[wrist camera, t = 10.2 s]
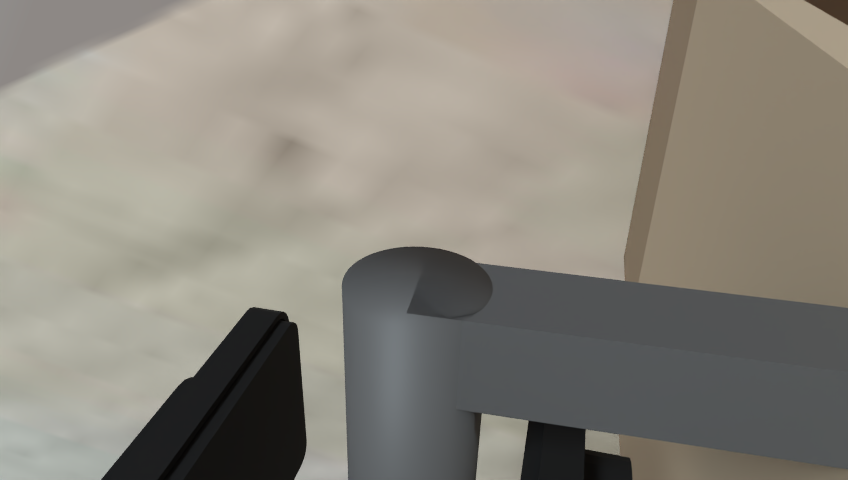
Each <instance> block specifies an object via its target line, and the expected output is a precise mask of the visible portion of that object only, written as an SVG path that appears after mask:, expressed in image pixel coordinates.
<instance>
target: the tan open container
mask: <svg viewBox="0 0 848 480" xmlns="http://www.w3.org/2000/svg"><path fill="white" fill-rule="evenodd" d="M805 1H806V2H808V3H810V4H812V5H813V6H815V7H817V8H818V9H820V10H822V11H824V12H825V13H827V14H829V15H830V16H832V17H834V18H836V19H837V20H839V21H841V22H843V23H844V24H846V25H848V0H805ZM696 4H697V0H674V1H673V6H672V11H671V16H670V21H669V27H668V32H667V37H666V42H665V47H664V52H663V58H662V63H661V68H660V73H659V78H658V84H657V89H656V94H655V99H654V104H653V110H652V115H651V120H650V125H649V130H648V135H647V141H646V146H645V151H644V156H643V161H642V167H641V172H640V177H639V182H638V187H637V193H636V198H635V203H634V208H633V213H632V219H631V224H630V229H629V234H628V239H627V244H626V250H625V255H624V268H625V281H629V282H637V283H638V282H639V277H640V273H641V268H642V263H643V258H644V253H645V249H646V244H647V239H648V234H649V229H650V225H651V220H652V215H653V210H654V205H655V201H656V196H657V191H658V186H659V181H660V177H661V172H662V167H663V162H664V157H665V153H666V148H667V143H668V138H669V133H670V129H671V124H672V119H673V114H674V109H675V105H676V100H677V95H678V90H679V85H680V81H681V76H682V71H683V66H684V61H685V57H686V52H687V47H688V42H689V37H690V33H691V28H692V23H693V18H694V13H695V9H696Z"/></svg>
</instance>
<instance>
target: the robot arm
mask: <svg viewBox="0 0 848 480" xmlns="http://www.w3.org/2000/svg"><path fill="white" fill-rule="evenodd" d="M585 430H586V429H581V428H575V427H568V426H562V425H555V424H549V423H542V422H536V421H529V423H528V430H527V437H526V444H525V452H524V459H523V466H522V473H521V480H632V464H631V460H630V458H629V457H624V456H618V455H613V454H607V453H602V452H596V451H591V450H585ZM305 452H306V428H305V415H304V402H303V389H302V376H301V363H300V350H299V337H298V328H297V325H296V323H294V322H289V319H288V316H287V314H286V313H284V312H281V311H274V310H268V309H262V308H256V307H253V308H250V309H249V310H248V311H247V312H246V313H245V314H244V315H243V316H242V318H241V319H240V320H239V321H238V323H237V324H236V325H235V326H234V328H233V329H232V330H231V331H230V333H229V334H228V335H227V336H226V338H225V339H224V340H223V341H222V342H221V344H220V345H219V346H218V347H217V349H216V350H215V351H214V352H213V354H212V355H211V356H210V357H209V359H208V360H207V361H206V362H205V364H204V365H203V366H202V367H201V368H200V370H199V371H198V372H197V373H196V375H195V376H194V377H191V378H188V379H186V380H184V381H183V382H182V383H181V384H180V385H179V386H178V387H177V388H176V389H175V391H174V392H173V393H172V394H171V395H170V397H169V398H168V399H167V400H166V402H165V403H164V404H163V405H162V406H161V408H160V409H159V410H158V411H157V412H156V414H155V415H154V416H153V417H152V419H151V420H150V421H149V422H148V423H147V425H146V426H145V427H144V428H143V429H142V431H141V432H140V433H139V434H138V436H137V437H136V438H135V439H134V440H133V442H132V443H131V444H130V445H129V446H128V448H127V449H126V450H125V451H124V453H123V454H122V455H121V456H120V457H119V459H118V460H117V461H116V462H115V463H114V465H113V466H112V467H111V468H110V470H109V471H108V472H107V473H106V474H105V476H104V477H103V478H102V479H101V480H294V478H295V477H296V475H297V473H298V471H299V469H300V467H301V465H302V462H303V459H304V456H305Z"/></svg>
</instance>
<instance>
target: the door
mask: <svg viewBox="0 0 848 480" xmlns="http://www.w3.org/2000/svg"><path fill="white" fill-rule="evenodd" d="M342 301H343V332H344V362H345V392H346V423H347V453H348V480H476V469H477V458H478V447H479V436H480V425H481V414H482V413H484V414H490V415H497V416H503V417H510V418H516V419H523V420H529V421H536V422H542V423H549V424H555V425H562V426H568V427H575V428H581V429H588V430H594V431H601V432H608V433H614V434H619V442H620V455H621V456H624V457H629V458H630V460H631V464H632V480H848V25H846V24H844V23H843V22H841V21H839V20H837V19H836V18H834V17H832V16H830V15H829V14H827V13H825V12H824V11H822V10H820V9H818V8H817V7H815V6H813V5H812V4H810V3H808V2H806V1H805V0H697V4H696V9H695V13H694V18H693V23H692V28H691V33H690V37H689V42H688V47H687V52H686V57H685V61H684V66H683V71H682V76H681V81H680V85H679V90H678V95H677V100H676V105H675V109H674V114H673V119H672V124H671V129H670V133H669V138H668V143H667V148H666V153H665V157H664V162H663V167H662V172H661V177H660V181H659V186H658V191H657V196H656V201H655V205H654V210H653V215H652V220H651V225H650V229H649V234H648V239H647V244H646V249H645V253H644V258H643V263H642V268H641V273H640V277H639V282H638V283H637V282H629V281H621V280H612V279H604V278H596V277H588V276H579V275H571V274H563V273H554V272H546V271H538V270H529V269H521V268H513V267H505V266H496V265H488V264H480V263H475V262H474V261H472V260H471V259H468V258H466V257H464V256H462V255H459V254H457V253H454V252H450V251H447V250H442V249H437V248H429V247H400V248H393V249H387V250H383V251H379V252H376V253H373V254H371V255H368V256H366V257H364V258H362V259H361V260H359V261H357V262H356V263H355V264H353V265H352V266H351V267H350V268H349V269H348V271H347V272H346V274H345V275H344V278H343V281H342Z"/></svg>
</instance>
